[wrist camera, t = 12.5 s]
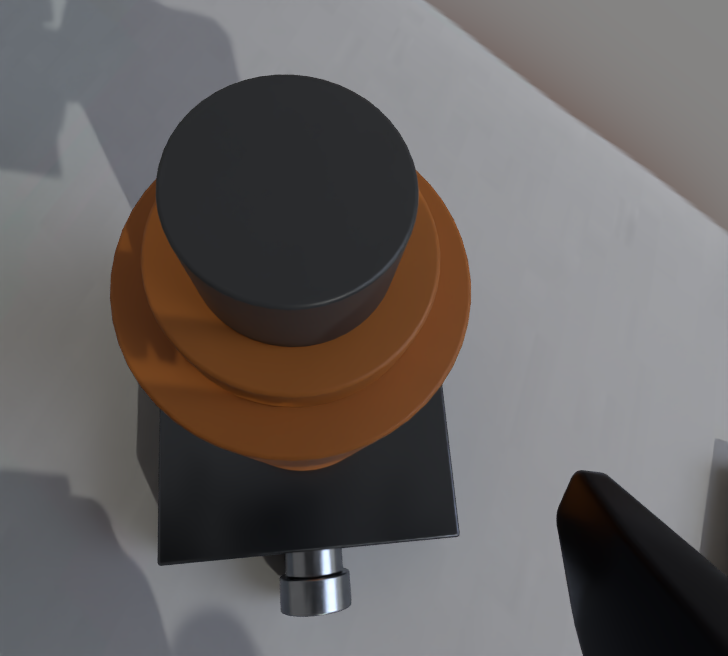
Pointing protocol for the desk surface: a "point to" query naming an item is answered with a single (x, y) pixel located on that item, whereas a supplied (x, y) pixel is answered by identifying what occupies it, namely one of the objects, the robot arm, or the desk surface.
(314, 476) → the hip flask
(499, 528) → the desk surface
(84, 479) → the desk surface
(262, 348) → the amber bottle
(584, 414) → the desk surface
